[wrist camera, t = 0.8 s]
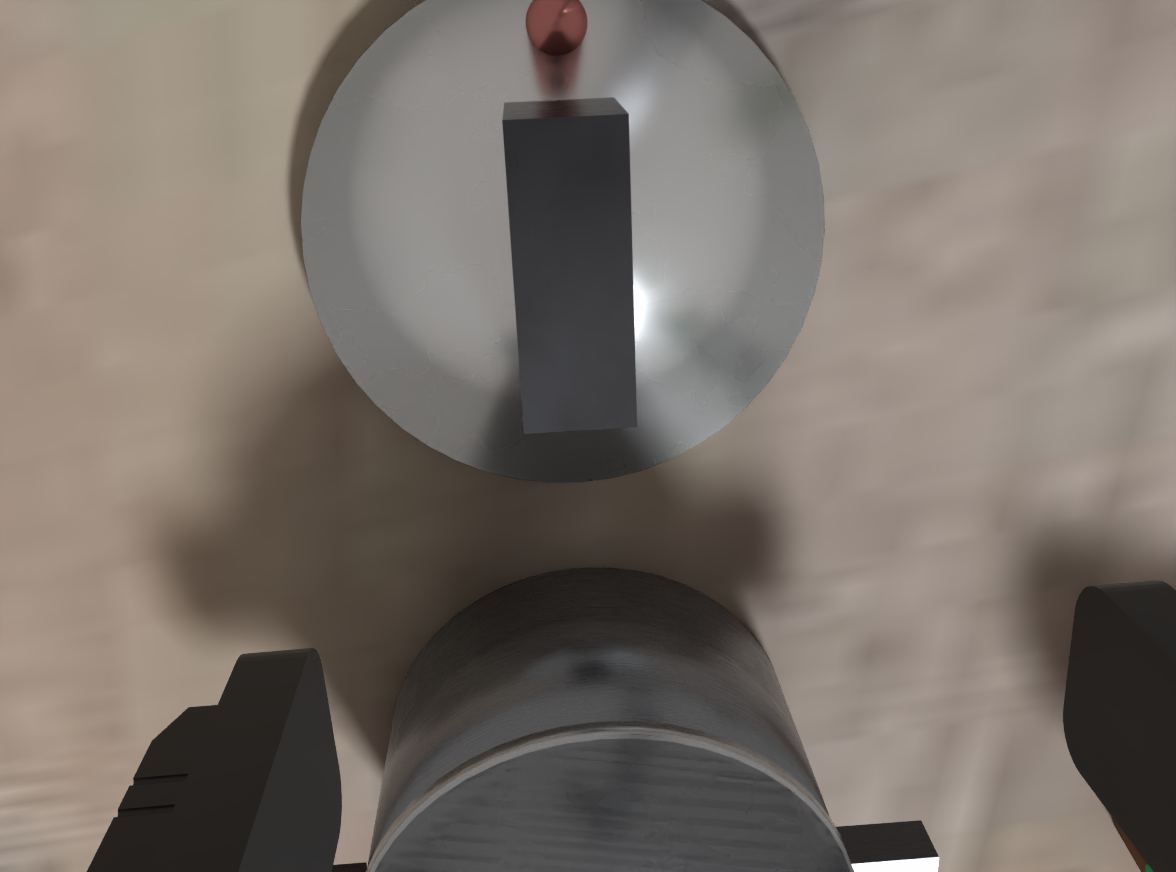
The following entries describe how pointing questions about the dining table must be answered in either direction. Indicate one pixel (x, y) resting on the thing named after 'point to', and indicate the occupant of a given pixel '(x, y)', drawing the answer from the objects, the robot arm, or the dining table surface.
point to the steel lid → (562, 229)
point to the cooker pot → (608, 744)
